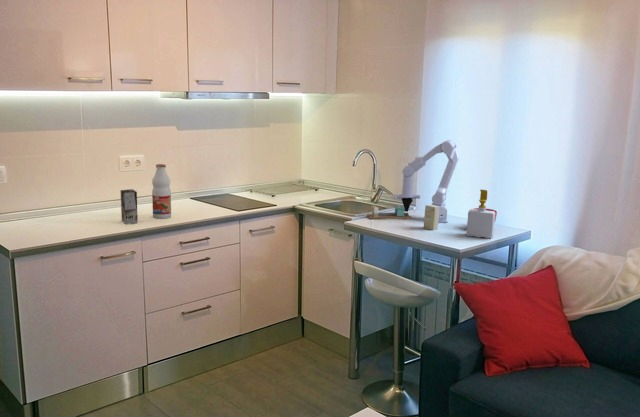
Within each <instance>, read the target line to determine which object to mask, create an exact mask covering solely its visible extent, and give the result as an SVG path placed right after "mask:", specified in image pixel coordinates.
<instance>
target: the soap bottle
mask: <svg viewBox="0 0 640 417" xmlns="http://www.w3.org/2000/svg"><path fill="white" fill-rule="evenodd" d="M479 196H480V197H479V200H478V201H479V203H480V204H479V205H478V208H479V209H478V210H477V209H474V208H471V209H469V210H468V211H467V222H466V233H465V234H466V237H472V236H476V237H475V238H480V237H485V238H484V239H488V238H491V239H492V238H493V237H494V231H495V223H496V220H495V212H494V211H487V210H486V209H487V206H486V205H485V204H486V202H487V200H488V190H487V189H480V195H479Z"/></svg>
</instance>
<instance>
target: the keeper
mask: <svg viewBox="0 0 640 417" xmlns="http://www.w3.org/2000/svg"><path fill="white" fill-rule="evenodd" d="M394 213H397V216H404V213H406V212H405V208H404V205H395V206H394Z"/></svg>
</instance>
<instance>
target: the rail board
mask: <svg viewBox="0 0 640 417" xmlns="http://www.w3.org/2000/svg"><path fill="white" fill-rule="evenodd" d="M367 214H368V215H367V216H366V218H368V219H369V220H413V217H412V216H411V215H409V212H404V216H397V213H395V212H379V207H378V206H376V205H371V213H370V214H369V213H367Z"/></svg>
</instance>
